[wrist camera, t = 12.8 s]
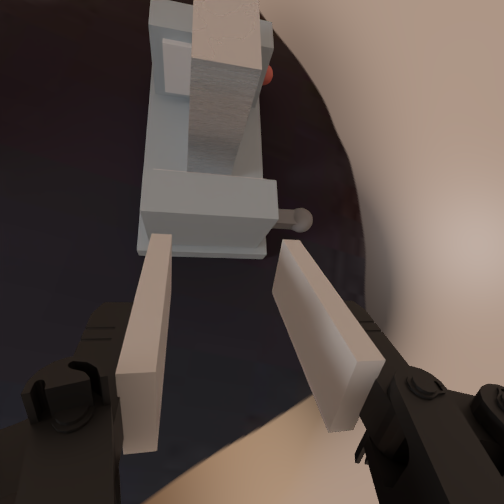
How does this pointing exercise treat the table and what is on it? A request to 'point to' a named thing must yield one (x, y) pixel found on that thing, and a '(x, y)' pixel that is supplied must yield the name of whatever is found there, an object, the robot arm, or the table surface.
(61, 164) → the table surface
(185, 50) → the vise
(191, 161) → the steel block
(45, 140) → the table surface
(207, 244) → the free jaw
